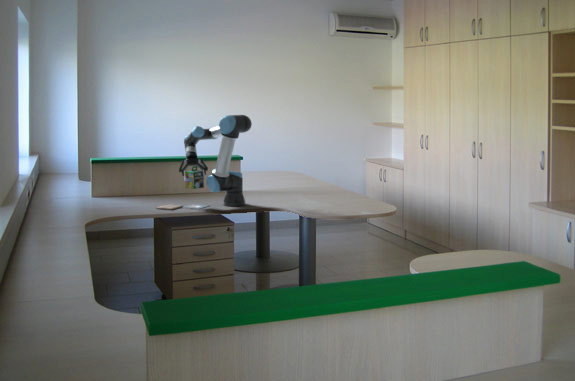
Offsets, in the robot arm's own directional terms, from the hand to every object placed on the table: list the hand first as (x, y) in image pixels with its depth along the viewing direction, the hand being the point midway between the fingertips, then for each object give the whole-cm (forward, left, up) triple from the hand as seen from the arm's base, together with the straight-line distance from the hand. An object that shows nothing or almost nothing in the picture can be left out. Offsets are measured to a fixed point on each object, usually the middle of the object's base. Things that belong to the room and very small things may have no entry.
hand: (194, 178), depth 427 cm
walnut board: (+15, +8, -19) cm, 26 cm away
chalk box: (+2, -2, -7) cm, 7 cm away
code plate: (+1, -2, -19) cm, 20 cm away
